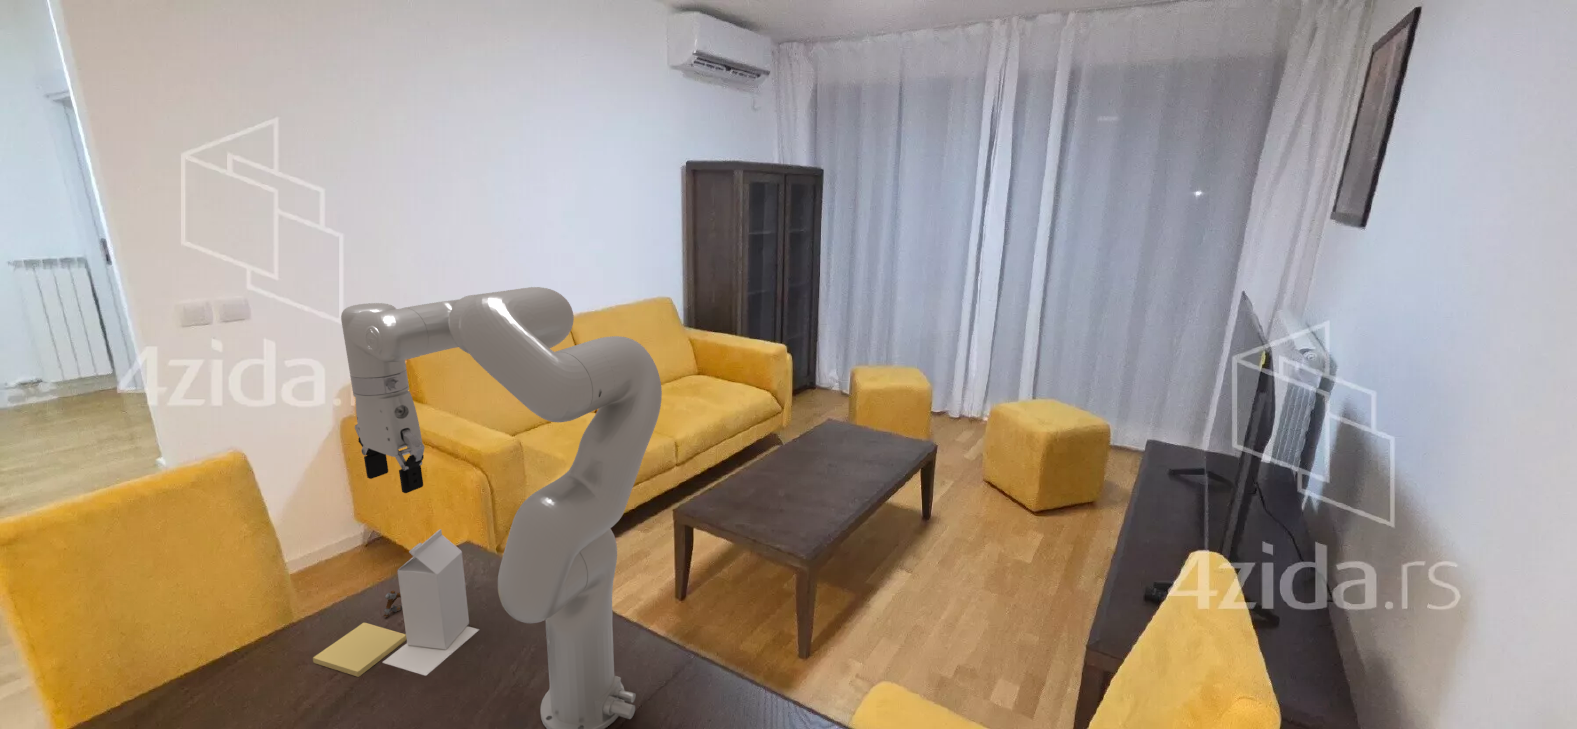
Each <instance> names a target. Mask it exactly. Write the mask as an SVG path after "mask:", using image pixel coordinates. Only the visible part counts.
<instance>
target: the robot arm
mask: <svg viewBox="0 0 1577 729" xmlns="http://www.w3.org/2000/svg"><path fill="white" fill-rule="evenodd" d="M574 318H575V316H574V312H573V308H572V306H571V303H570V302H569V300H567V299H566V297H565V296H563V295H562V294H561V293H559V292H557V291H555V290H553V289H551V288H548V287H541V286H536V287H535V286H533V287H532V286H531V287H523V288H515V289H508V290H507V289H506V290H499V291H493V292H485V293H480V294H479V293H478V294H472V295H471V294H470V295H464V297H462V298H459V299H451V300H442V301H438V302H429V303H424V304H417V305H412V306H408V307H402V308H396V307H395V306H393V305H392V304H388V303H383V302H381V303H379V302H374V303H373V302H371V303H359V304H353V305H350V306H348V307H346V308H344V309H343V310H342V312H341V317H340V321H341V326H342V327H341V328H342V333H343V338H344V345H345V351H346V356H347V358H346V359H347V364H348V370H349V376H350V378H349V379H350V383H351V387H352V388H351V389H352V390H351V391H352V396H353V397H355V412H356V423H357V424H355V425H354V429H355V431H356V435H357V436H358V441H357V442H358V443H359V444H360V446H361V451H360V452H361V454H362V455H363V459H364V466H365V472H366V478H368V479H369V480H372V479H374V478H378V477H381V476H384V475H386V474H388V473H389V466H388V461H387V460H388V459H387V456H389V457H393V458H395V459H396V461H397V464H398V465H399V466H400V468H401V469H399V470H398V474H399V475H398V476H399V481H400V488H401V492H402V493H404V494H409V493H410V492H414V491H415V490H419V489H420V488H423V486H424V478H423V473H422V472H423V471H422V465H423V460H424V459H425V458H424V453H425V444H424V443H423V439H422V432H421V429H420V428H421V427H420V422H419V418H418V414H417V409H416V406H415V402H414V400H413V396H412V394H411V392H410V391H409V390H410V387H409V378H408V371H407V364H406V363H407V362H406V361H407V360H410V359H415V358H418V357H422V356H425V355H426V356H427V355H430V354H433V353H439V352H443V351H447V350H451V349H455V348H459V349H460V350H461V351H463V352H465V353H467V354H469V355H470V357H472V359H473V360H474V361H475V362H476V363H477V364H478V365H479V366H480V367H481V368H482V369H484V371H486V372H487V373H488V374H489V375H490V376H491V377H492V378H494V380H495V381H497V382H498V383H499V384H500V385H501V386H502V387H503V388H504V389H506V390H507V391H508V392H509V393H510V394H511V395H512V396H513V397H514V398H516V399H517V400H518V401H519V402H520V403H521V404H522V405H523V406H525V407H526V408H527V409H528V410H530V411H531V413H534V414H535V415H536V416H537V417H539V418H541V419H543V420H546V421H547V422H552V423H565V422H571V421H574V420H576V419H580V418H581V417H583V416H584V415H587V414H590V413H592V412H594V411H596V410H597V411H596V413H595V415H594V416H593V417H592V419H591V420H590V422H589V423H588V425H587V427H586V428H585V430H584V432H583V434H582V436H581V438H580V441H579V445H578V447H577V448H578V450H577V452H576V455H575V457H574V460H573V462H572V464H571V466H570V468H569V469H568V470H567V472H565V473H564V474H563V475H561V476H560V477H559V478H557V479H555V480H554V481H552V482H550V483H548V484H547V485H545V486H543V487H541V488H540V489H538V490H536V491H535V492H534V493H532V494H531V495H529V496H528V497H527V498H526V499H525V500H524V501H523V502H522V504H521V505H520V507H519V508H518V509H517V511H516V513H515V515H514V517H513V519H512V523H511V525H510V530H509V533H508V537H507V540H506V544H505V548H504V551H503V554H502V557H501V563H500V565H499V570H498V576H497V592H498V597H499V600H500V603H501V606H502V607H503V609H504V610H505V611H506V613H507V614H508V615H509V616H510V617H511V618H512V619H514V620H515V621H517V622H521V623H524V624H537V623H541V622H543V621H545V635H546V647H547V648H546V650H547V651H546V652H547V663H548V666H547V667H548V681H549V689H548V691H547V692H545V695H544V696H543V698H542V700H541V703H540V719H541V721H542V725H543V726H544V727H545V728H546V729H606V728H608V726H609V727H610V725H611V724H613V723H614V722H615V721H616V720H617V719H618V718H619V717H620V718H625V719H627V720H631V719H632V718H633V716H634V715H635V711H636V705H635V704H633V703H634V702H635V700H636V693H634V692H632V691H628V690H627V691H626V690H625V688H624V685H623V683H622V682H621V681H622V680H621V679H622V678H621V677H620V676H617V675H615V662H614V660H615V659H614V658H615V657H614V655H615V654H614V631H613V630H614V629H613V627H614V625H613V616H614V615H613V588H614V587H613V586H614V578H615V573H616V568H617V560H618V546H617V540H616V537H615V534H614V532H613V531H612V528H613V527H614V526H615V525H616V524H617V523H618V522H619V521H620V519H621V518H622V517H623V515H624V512H625V510H626V508H627V506H628V502H629V500H630V496H631V493H632V490H633V488H634V485H635V484H636V483H635V482H636V480H637V476H638V474H639V471H640V468H641V466H642V461H643V459H644V455H645V453H646V452H647V449H648V446H649V443H650V441H651V439H652V437H653V436H652V435H653V434H654V431H655V428H656V426H657V422H658V419H659V415H660V412H661V406H662V400H663V399H662V396H663V393H662V391H663V390H662V384H661V378H660V374H659V370H658V368H657V365H656V362H655V361H654V358H653V357H652V355H651V354H650V352H648V351H647V349H646V348H645V347H644V346H643V345H642V344H641V343H639V342H638V341H637V340H634V339H632V338H631V337H630V338H629V337H625V336H617V335H614V336H604V337H600V338H595V339H592V340H589V341H588V340H587V341H586V342H585V341H584V342H582V343H579V344H576V345H573V346H569V347H566V348H563V349H560V350H556V351H554V350H552V348H553V347H555V346H557V345H559V344H560V343H562V342H563V341H564V340H566V338H567V337H568V335H570V332H571V331H572V329H573V326H574V322H575V321H574ZM403 448H404V449H403ZM406 455H409V456H408V457H407V459H405V458H404V456H406Z"/></svg>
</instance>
